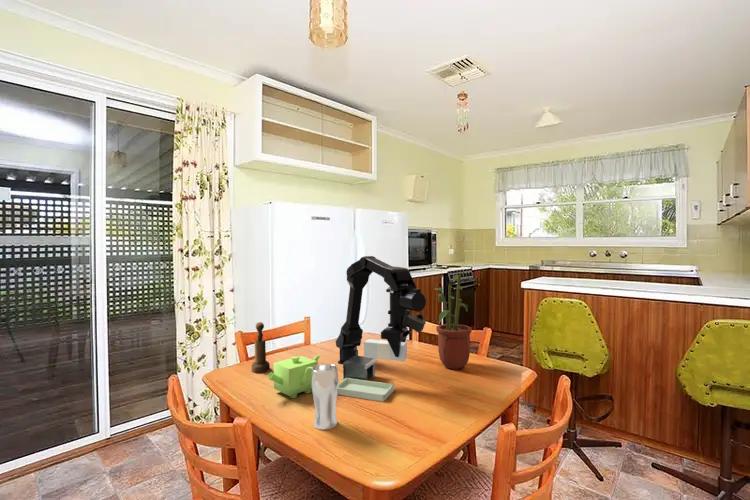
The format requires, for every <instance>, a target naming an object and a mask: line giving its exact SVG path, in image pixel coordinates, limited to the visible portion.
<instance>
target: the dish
mask: <svg viewBox="0 0 750 500" xmlns="http://www.w3.org/2000/svg"><path fill="white" fill-rule="evenodd" d="M394 391H395V384H394V383H388V382H387V383H386V382H379V381H374V380H372V381H371V380H367V381H366V380H359V379H352V378H345V379H344V380H343V379H342V380H341V381H340V382H338V394H337V396H338V395H339V396H346V397H351V398H358V399H365V400H369V401H376V402H382V403H383V402H386V401H387V399H388V398H389V397H391V395H392V393H394Z"/></svg>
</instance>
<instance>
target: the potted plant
mask: <svg viewBox="0 0 750 500" xmlns="http://www.w3.org/2000/svg"><path fill="white" fill-rule="evenodd" d="M455 280H456V281H457V283H456V297H455V296H452V284H451V283H448V284H447V285H448V287H447V290H448V292H447V295H448V297H447V298H448V301H446V298H445V294H444V292H443V291H444V289H443V288H440V287H437V288H434V290H437V291H440V293H438V294H437V296H438V297H437V299H438V301H437V302H438V303H442V304H443V307H444V308H443V309H444V310H443V311H441V312H440V313H439V320H438V325H436V329H435V330H436V332H437V342H438V343H437V346H438V347H437V349H438V356H439V360H440V362H441V363H442V366H444V367H446V368H447V369H449V370H460V369H462V368H464V367H465V366H467V364H468V362H469V360H470V356H471V355H470V353H471V333H472V330H473V329H472V327H471V326H468V325H466V324H459V318H460V317H459V316H460V309H461V307H464V308H465V310H466V311H465V312H468V309H469V306H468V304H466V303H465V302H464V303H463V302H462V301H463V300H462V299H461V298H460V290H461V291H463V286H461V275H459V274H455V275H453V277H452V282H455ZM465 288H467V287H466V286H465ZM455 298H456V299H455ZM454 299H455V301H456V302H455V309H454V314H452V300H454ZM447 304H448V306H447ZM452 317H453V323H452ZM444 318H445V322H446V324H445V323H444V324H440V323H441V321H442V320H443V319H444Z"/></svg>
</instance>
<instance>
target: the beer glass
mask: <svg viewBox="0 0 750 500" xmlns="http://www.w3.org/2000/svg"><path fill="white" fill-rule="evenodd" d="M338 383H339V373H338V366H337V365H336V364H333V363H321V364H318V365H316V366H314V367H313V368H312V389H311V391H312V392H311V393H312V400H313V405H314V420H313V426H314V428H315V429H317V430H321V431H324V430H325V431H326V430H327V431H328V430H331V429H333V428H335V427H336V426H337V425H338V419H337V414H336V409H337V408H336V406H337V400H338V395H337V394H338Z"/></svg>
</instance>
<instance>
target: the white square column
mask: <svg viewBox="0 0 750 500" xmlns="http://www.w3.org/2000/svg"><path fill="white" fill-rule="evenodd" d="M363 351H364V352H363V356H364V357H367V358H376V360H377V359H379V360H387V361H388V360H390V361H397V362H405V360H406V359H407V358H408V342H401V346H400V353H399V357H395V355H394V353H393V351H392V349H391V346H390V345H389V343H388V341H387V340H385V339H371V338H368V339H366V340H365V341H364V342H363Z"/></svg>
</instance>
